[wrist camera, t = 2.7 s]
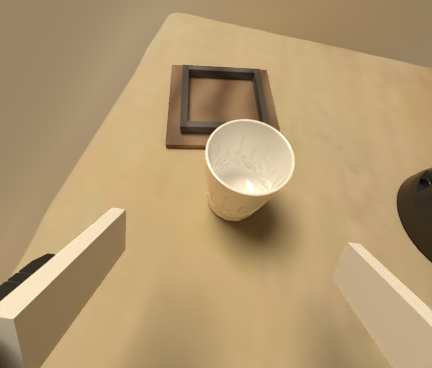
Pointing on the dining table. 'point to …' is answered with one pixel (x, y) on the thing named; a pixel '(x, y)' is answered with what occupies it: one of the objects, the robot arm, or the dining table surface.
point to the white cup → (245, 167)
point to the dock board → (215, 102)
